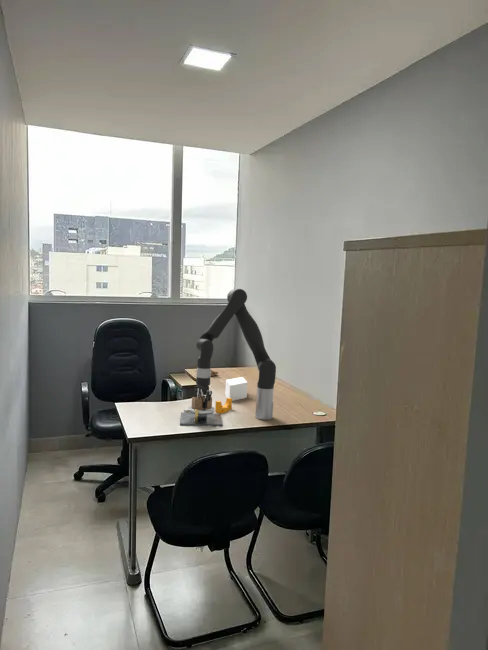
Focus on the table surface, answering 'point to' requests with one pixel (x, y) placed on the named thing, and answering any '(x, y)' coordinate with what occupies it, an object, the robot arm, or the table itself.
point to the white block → (236, 388)
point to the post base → (201, 419)
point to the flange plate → (200, 412)
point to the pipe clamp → (225, 407)
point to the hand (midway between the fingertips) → (202, 407)
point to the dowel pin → (196, 415)
